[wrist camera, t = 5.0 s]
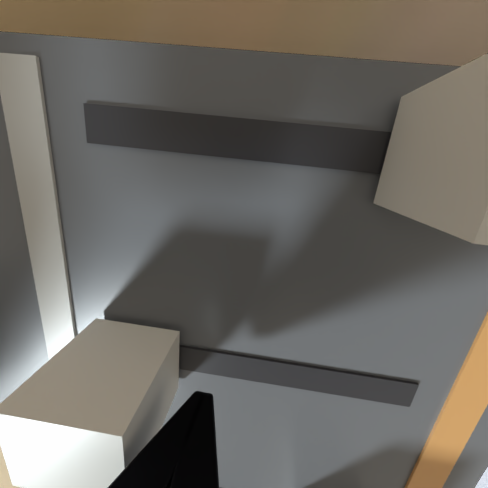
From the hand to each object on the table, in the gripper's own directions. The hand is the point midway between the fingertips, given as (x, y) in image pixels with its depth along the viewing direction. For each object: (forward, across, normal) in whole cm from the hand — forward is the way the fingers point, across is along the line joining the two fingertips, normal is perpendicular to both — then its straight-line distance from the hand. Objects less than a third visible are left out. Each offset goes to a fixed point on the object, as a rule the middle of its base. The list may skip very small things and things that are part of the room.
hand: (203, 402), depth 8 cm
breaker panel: (+4, 0, 0) cm, 4 cm away
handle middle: (+1, +3, 0) cm, 3 cm away
